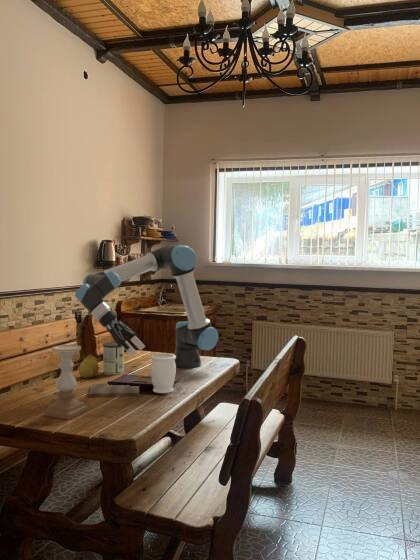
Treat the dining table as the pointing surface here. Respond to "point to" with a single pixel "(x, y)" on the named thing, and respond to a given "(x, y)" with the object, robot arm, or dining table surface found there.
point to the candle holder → (66, 387)
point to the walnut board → (113, 390)
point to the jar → (163, 372)
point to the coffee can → (113, 358)
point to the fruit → (88, 367)
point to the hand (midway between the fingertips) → (139, 351)
